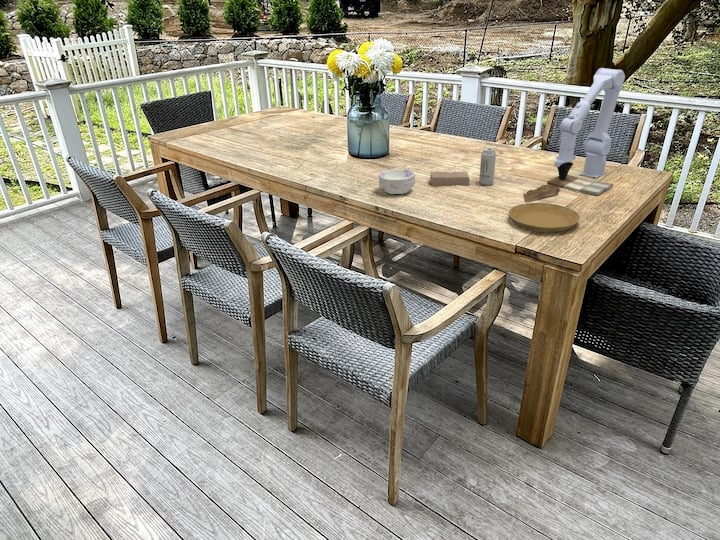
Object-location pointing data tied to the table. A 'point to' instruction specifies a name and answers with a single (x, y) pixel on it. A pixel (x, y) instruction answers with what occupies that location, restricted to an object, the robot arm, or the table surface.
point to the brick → (449, 178)
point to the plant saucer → (544, 217)
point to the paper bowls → (397, 180)
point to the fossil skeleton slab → (541, 193)
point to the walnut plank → (561, 181)
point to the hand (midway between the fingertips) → (562, 179)
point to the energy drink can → (487, 166)
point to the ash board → (578, 184)
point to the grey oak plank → (596, 188)
